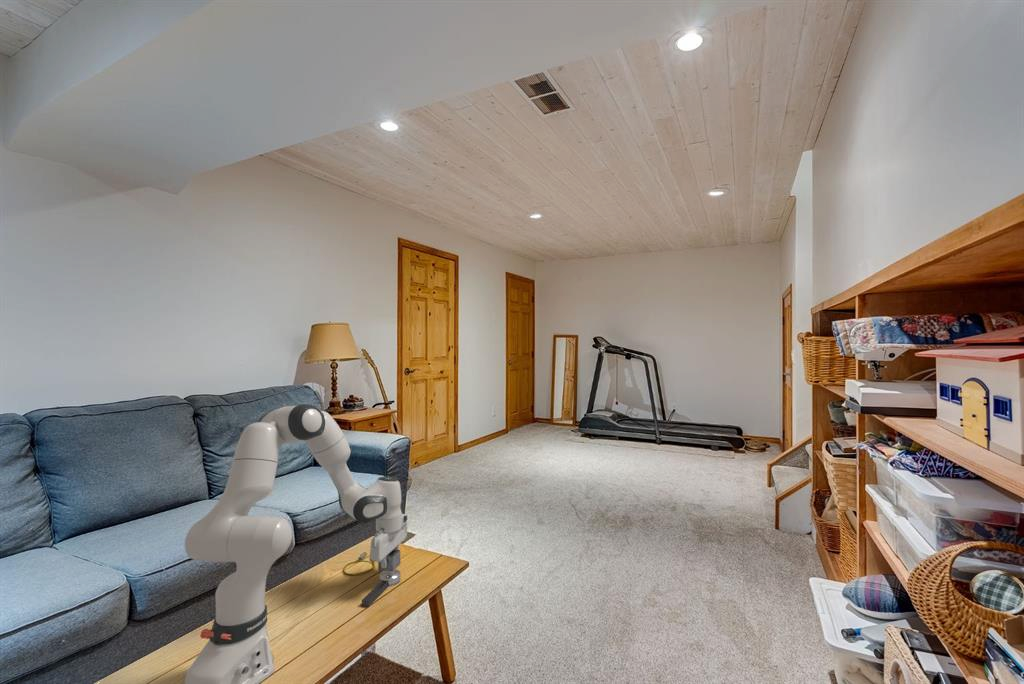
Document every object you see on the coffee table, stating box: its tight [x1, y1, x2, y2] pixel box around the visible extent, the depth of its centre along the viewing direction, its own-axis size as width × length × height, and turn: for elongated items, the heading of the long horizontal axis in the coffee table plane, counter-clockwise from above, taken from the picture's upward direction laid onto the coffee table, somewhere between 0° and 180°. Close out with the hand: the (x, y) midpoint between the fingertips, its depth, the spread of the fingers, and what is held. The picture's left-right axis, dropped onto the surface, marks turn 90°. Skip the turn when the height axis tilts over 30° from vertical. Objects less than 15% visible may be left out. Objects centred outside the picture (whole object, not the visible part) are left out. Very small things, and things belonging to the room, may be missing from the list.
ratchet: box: [361, 568, 401, 608], centre depth 156 cm, size 20×7×6 cm, turn 166°
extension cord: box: [342, 551, 376, 577], centre depth 174 cm, size 12×16×2 cm
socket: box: [377, 549, 402, 572], centre depth 162 cm, size 6×6×5 cm
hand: (389, 562), depth 162 cm, fingers closed on socket, 6 cm apart
